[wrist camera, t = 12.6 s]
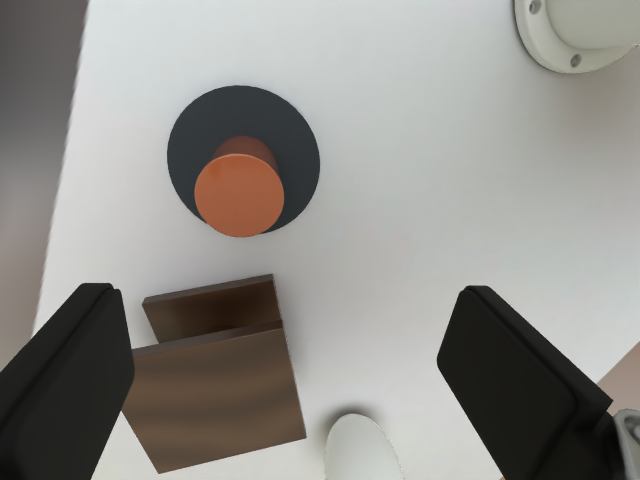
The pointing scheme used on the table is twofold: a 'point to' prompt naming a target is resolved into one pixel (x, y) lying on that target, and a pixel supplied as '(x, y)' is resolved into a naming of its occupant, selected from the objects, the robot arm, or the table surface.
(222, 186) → the canister
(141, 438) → the stand
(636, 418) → the robot arm
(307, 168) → the coaster
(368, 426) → the sauce bottle
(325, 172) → the table surface
